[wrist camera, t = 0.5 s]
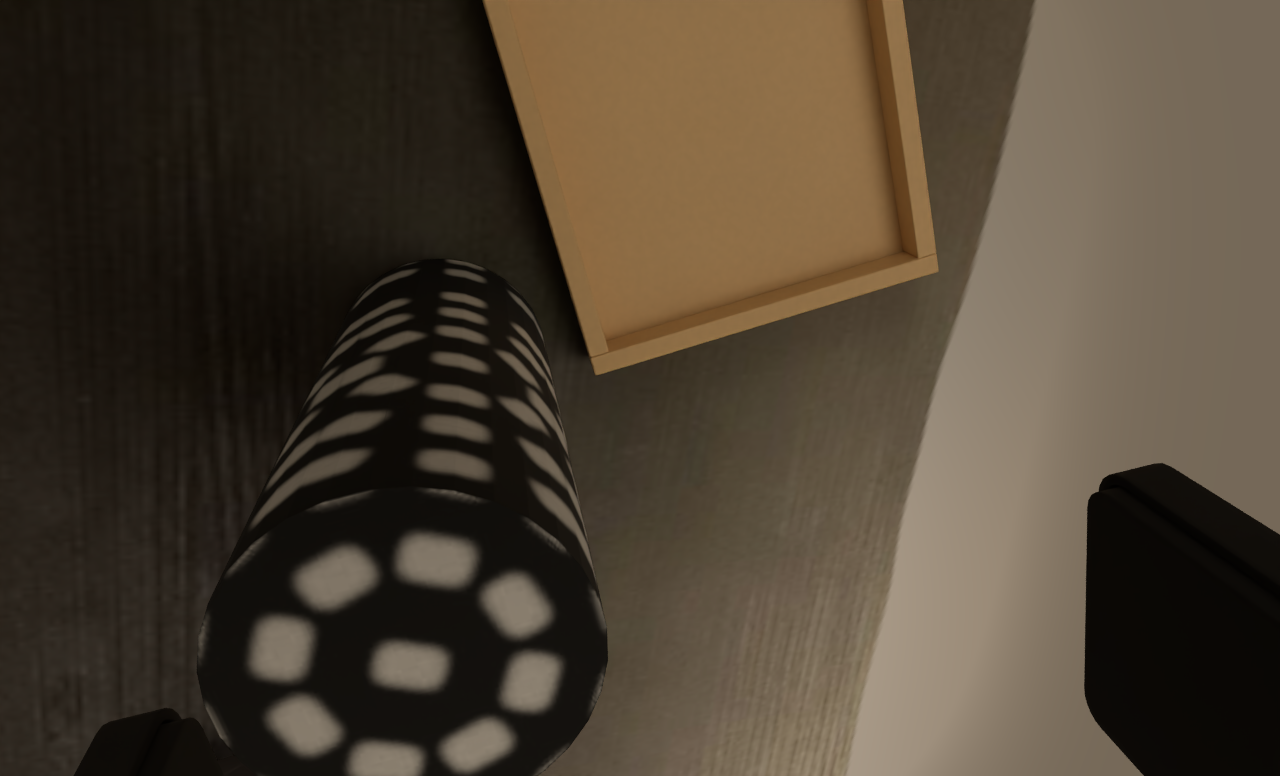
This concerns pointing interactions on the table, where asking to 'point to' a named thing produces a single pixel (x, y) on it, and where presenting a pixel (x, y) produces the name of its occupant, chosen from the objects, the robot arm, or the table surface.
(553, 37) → the tray
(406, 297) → the spotted tube
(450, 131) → the table surface
